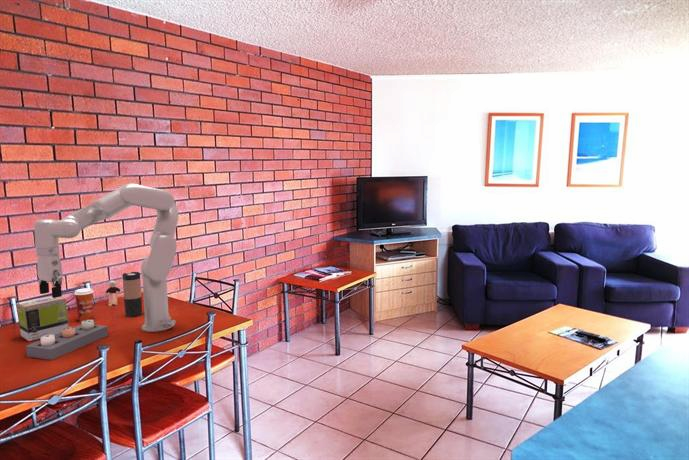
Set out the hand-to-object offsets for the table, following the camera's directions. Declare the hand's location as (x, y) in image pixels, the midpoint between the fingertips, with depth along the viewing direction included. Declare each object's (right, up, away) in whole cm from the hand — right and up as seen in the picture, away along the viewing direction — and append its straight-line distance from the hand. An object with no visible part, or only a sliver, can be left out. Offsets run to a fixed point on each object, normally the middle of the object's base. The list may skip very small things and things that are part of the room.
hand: (50, 295), depth 178 cm
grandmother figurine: (-4, -13, +57) cm, 58 cm away
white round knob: (+4, -18, -7) cm, 20 cm away
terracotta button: (+6, -17, +1) cm, 18 cm away
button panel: (+6, -20, +2) cm, 21 cm away
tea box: (-12, -19, +14) cm, 26 cm away
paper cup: (-5, -16, +33) cm, 37 cm away
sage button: (+9, -16, +10) cm, 21 cm away
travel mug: (+14, -15, +40) cm, 45 cm away
